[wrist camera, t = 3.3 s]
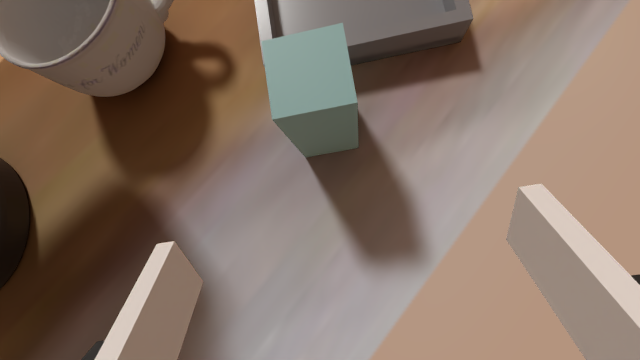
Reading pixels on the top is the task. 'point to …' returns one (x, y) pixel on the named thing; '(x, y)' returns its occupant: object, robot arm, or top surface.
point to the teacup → (86, 41)
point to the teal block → (313, 90)
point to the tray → (370, 23)
